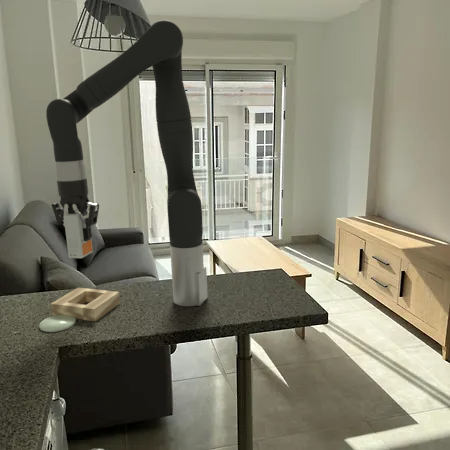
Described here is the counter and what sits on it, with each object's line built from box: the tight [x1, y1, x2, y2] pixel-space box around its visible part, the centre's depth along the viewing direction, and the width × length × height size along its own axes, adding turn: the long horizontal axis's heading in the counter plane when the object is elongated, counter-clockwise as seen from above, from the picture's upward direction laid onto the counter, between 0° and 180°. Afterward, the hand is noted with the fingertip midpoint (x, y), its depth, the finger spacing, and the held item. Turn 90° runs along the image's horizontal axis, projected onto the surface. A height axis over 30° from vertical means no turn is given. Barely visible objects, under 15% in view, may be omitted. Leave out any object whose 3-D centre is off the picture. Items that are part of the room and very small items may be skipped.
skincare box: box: [64, 211, 94, 259], centre depth 119 cm, size 6×4×12 cm
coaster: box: [38, 315, 76, 333], centre depth 116 cm, size 9×9×1 cm
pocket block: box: [50, 287, 121, 322], centre depth 124 cm, size 14×12×4 cm
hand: (79, 239), depth 120 cm, fingers closed on skincare box, 4 cm apart
